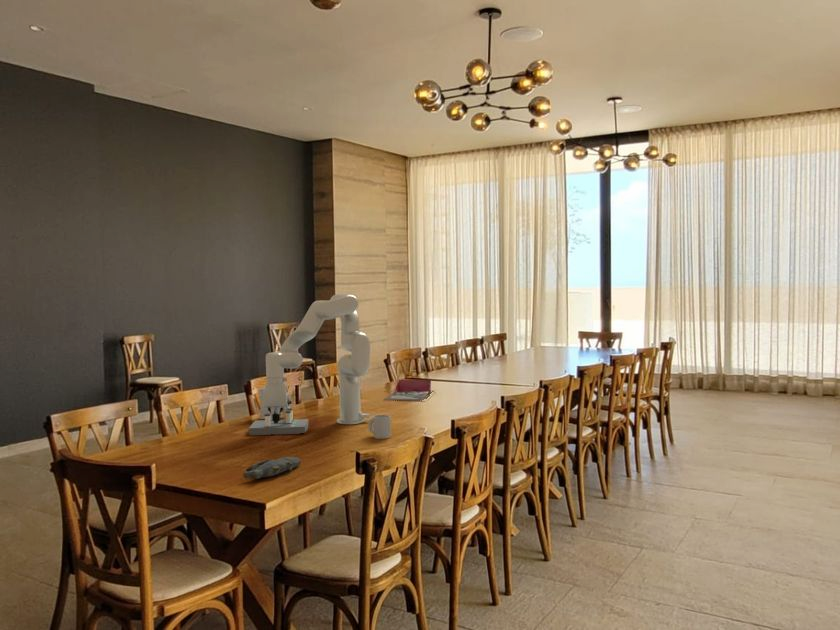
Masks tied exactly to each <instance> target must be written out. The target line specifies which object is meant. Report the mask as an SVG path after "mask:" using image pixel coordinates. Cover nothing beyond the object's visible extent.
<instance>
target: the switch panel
mask: <svg viewBox="0 0 840 630" xmlns="http://www.w3.org/2000/svg"><path fill="white" fill-rule="evenodd" d="M270 424H271V425H270V426H267V427H265V420H262V419H261V420H260V419H258V420H254V422H253V423H251V425H250V426H249V427H248V436H258V435H259V436H264V435H267V436H268V435H271V434H273V435H301V434H300V433H305V432H307V430H308V428H309V426H308V425H309V418H303V419H293V420H291V423H286V419H280V421H278V423H274V421H272V420H270ZM305 434H306V433H305Z"/></svg>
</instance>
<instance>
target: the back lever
mask: <svg viewBox="0 0 840 630" xmlns="http://www.w3.org/2000/svg"><path fill="white" fill-rule="evenodd" d="M293 408H294V407H290V408H288V409H287V410H291V420H294V419H293V414H294V413H293V411H294V409H293Z"/></svg>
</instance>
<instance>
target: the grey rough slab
mask: <svg viewBox="0 0 840 630" xmlns="http://www.w3.org/2000/svg"><path fill="white" fill-rule="evenodd" d="M301 463H302V459H300V458H299V457H296V456H285V457H280V458H276V459H265V460H262V461H259V462H255V463H252V466H251V465H250V466H248V467H247V468H246V469H245V471H246V472H243V478H245V480H246V479H260V478H270V477H274V476H276V475H280V474H282V473H284V472H286V471H292V469H294V468H296V467H298V466H299V465H301Z"/></svg>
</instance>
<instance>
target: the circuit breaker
mask: <svg viewBox="0 0 840 630" xmlns="http://www.w3.org/2000/svg"><path fill="white" fill-rule="evenodd" d="M264 387H265V386H263V387H262V386H261V387H260V388H259V392H258V397H259V398H260V406H261V407H260V409H259V420H260V419H261V420H262V419H265V413H271V412H270V411H268V410H264V409H263V407H264V402H263V401H264ZM287 394H288V408H291V404H292V401H291V394H290V393H287ZM277 408H278V407H274V409H275V412H276V413H277ZM286 410H287V409H285V410H282V411H281V412H280V417H281V418H282V417H283V414H282V413H285V411H286ZM270 420H272V414H271V415H270Z"/></svg>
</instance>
